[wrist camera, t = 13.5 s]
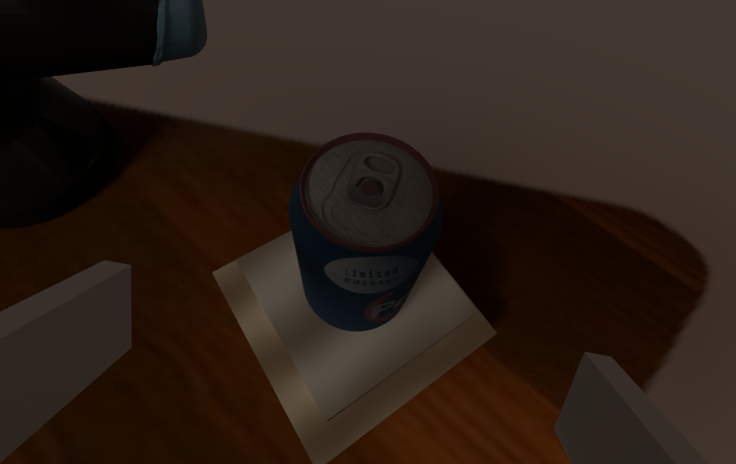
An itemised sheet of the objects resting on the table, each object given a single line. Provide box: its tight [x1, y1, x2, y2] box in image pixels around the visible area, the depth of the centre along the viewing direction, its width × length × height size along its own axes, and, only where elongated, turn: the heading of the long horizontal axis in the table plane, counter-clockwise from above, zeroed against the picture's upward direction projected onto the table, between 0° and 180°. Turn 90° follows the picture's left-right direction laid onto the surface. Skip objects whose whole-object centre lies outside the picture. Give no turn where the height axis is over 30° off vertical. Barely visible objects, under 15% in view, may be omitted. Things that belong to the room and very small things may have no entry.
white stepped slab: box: [212, 231, 497, 464], centre depth 30 cm, size 16×16×8 cm
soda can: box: [289, 133, 443, 332], centre depth 21 cm, size 7×7×12 cm
